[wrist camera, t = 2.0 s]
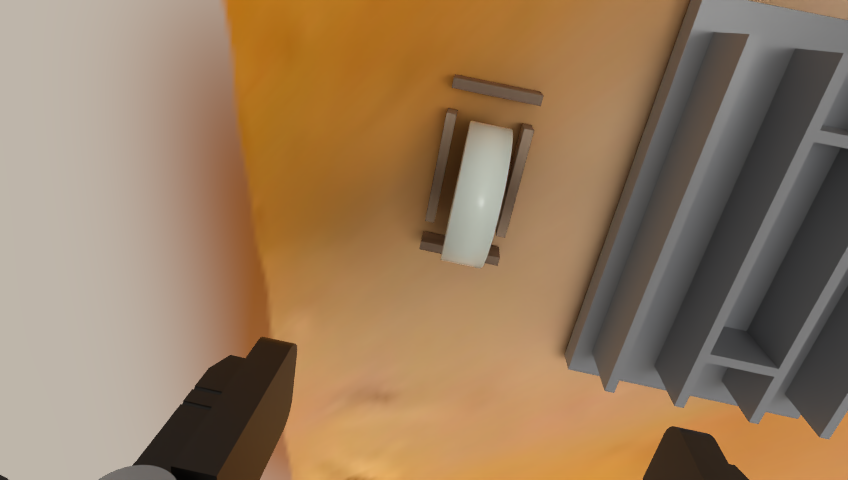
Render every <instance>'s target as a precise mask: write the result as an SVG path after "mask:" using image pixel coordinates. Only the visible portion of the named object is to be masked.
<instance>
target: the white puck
mask: <svg viewBox="0 0 848 480" xmlns="http://www.w3.org/2000/svg"><path fill="white" fill-rule="evenodd" d="M512 143H513V131H512V129H509V128H504V127H500V126H495V125H490V124H485V123H480V122H475V121H470V125H469V129H468V133H467V137H466V141H465V146H464V150H463V154H462V159H461V163H460V168H459V172H458V177H457V182H456V186H455V191H454V196H453V200H452V205H451V210H450V214H449V219H448V224H447V229H446V234H445V239H444V244H443V249H442V255H441V260H442V261H447V262H451V263H456V264H461V265H466V266H470V267H475V268H480V269H481V268H482V267H483V265H484V263H485V261H486V258H487V255H488V253H489V250H490V246H491V243H492V240H493V236H494V233H495V229H496V225H497V221H498V217H499V213H500V209H501V205H502V200H503V196H504V191H505V186H506V181H507V176H508V171H509V165H510V159H511V152H512Z"/></svg>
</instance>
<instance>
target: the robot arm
mask: <svg viewBox="0 0 848 480" xmlns="http://www.w3.org/2000/svg"><path fill="white" fill-rule="evenodd" d="M296 357H297V345H296V344H294V343H289V342H284V341H280V340H275V339H270V338H265V337H261V338H260V339H259V340H258V341H257V343H256V344H255V346H254V347H253V348H252V350H251V352H250V353H249V354H248V356H247V357H246V358H241V357H237V356H232V355H230V356H228V357H226V358H225V359H223V360H221V361H220V362H218V363H216V364H215V365H213V366H212V367H210V368H209V369H208V370H207V371H206V373H205V374H204V375H203V377H202V378H201V379H200V380H199V382H198V383H197V384H196V385H195V388H194V390H193V389H192V390H191V392H190V393H189V394H188V396H187V397H186V398H185V399H184V401H183V404H182V405H180V406H179V407H178V408H177V410H176V411H175V412H174V413H173V415H172V416H171V417H170V419H169V420H168V421H167V423H166V424H165V425H164V426H163V428H162V429H161V430H160V432H159V433H158V434H157V435H156V437H155V438H154V439H153V440H152V442H151V443H150V444H149V446H148V447H147V448H146V449H145V451H144V452H143V453H142V454H141V456H140V457H139V458H138V460H137V461H136V462H135V463H134V464H133V465H132V466H129V467H125V468H122V469H118V470H116V471H114V472H111V473H109V474H107V475H105V476H104V477H102V478H100V479H99V480H260V478H261V476H262V473H263V471H264V469H265V467H266V465H267V463H268V461H269V459H270V457H271V455H272V453H273V451H274V449H275V446H276V444H277V442H278V440H279V438H280V436H281V434H282V432H283V430H284V427H285V425H286V422H287V419H288V416H289V412H290V408H291V403H292V395H293V386H294V376H295V366H296ZM0 480H8V479H7V478H5V477H3V476H1V475H0ZM643 480H749V479H748V478H747V477H746V476H745V475H744V474H743V473H742V472H741V471H740V470H739V469H738V468H737V467H736V466H735V465H731V464H728V462H727V460H726V458H725V456H724V455H723V453H722V451H721V449H720V447H719V446H718V444H717V442H716V440H715V439H714V438H713V437H712V436H711V435H710V434H707V433H702V432H697V431H693V430H688V429H683V428H679V427H674V426H672V427H669V428H668V429H667V430H666V432H665V433H664V435H663V438H662V440H661V442H660V444H659V446H658V448H657V450H656V452H655V454H654V456H653V458H652V460H651V463H650V465H649V467H648V469H647V471H646V473H645V475H644V477H643Z"/></svg>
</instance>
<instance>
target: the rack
mask: <svg viewBox="0 0 848 480" xmlns="http://www.w3.org/2000/svg"><path fill="white" fill-rule="evenodd" d="M565 358H566V362H567V366H568V369H570V370H574V371H579V372H583V373H588V374H593V375H597V376H600V378H601V381H602V384H603V387H604V390H605V391H608V392H613V393H614V392H615V389H616V387H617V384H618V382H619V380H620V381H625V382H630V383H634V384H639V385H644V386H648V387H653V388H657V389H662V390H667V392H668V394H669V396H670V398H671V400H672V402H673V404H674V406H677V407H682V408H684V406H685V404H686V402H687V400H688V398H689V396H694V397H699V398H704V399H708V400H713V401H718V402H722V403H727V404H731V405H736V406H739V408H740V409H741V411H742V412H743V414H744V415H745V417H746V418H747V420H748V421H749V422H751V423H756V424H759V422H760V420H761V419H762V417H763V415H764V413H765V412H768V413H773V414H778V415H782V416H787V417H792V418H796V419H798V418H799V417H800V415H802V416H803V417H804V419H805V420H806V421H807V422H808V424H809V425H810V426H811V427H812V429H813V430H814V431H815V432H816V434H817V435H818V436H819V437H820V438H825V439H829V438H830V437H831V435H832V434H833V432H834V431H835V429H836V428H837V426H838V425H839V423H840V422H841V420H842V419H843V417H844V415H845V414H846V412H847V411H848V20H843V19H838V18H833V17H828V16H823V15H818V14H813V13H808V12H803V11H798V10H793V9H788V8H783V7H778V6H773V5H768V4H763V3H758V2H753V1H748V0H691V1H690V3H689V6H688V9H687V12H686V15H685V17H684V20H683V23H682V26H681V29H680V32H679V34H678V37H677V40H676V43H675V46H674V48H673V51H672V54H671V57H670V60H669V63H668V65H667V68H666V71H665V74H664V77H663V79H662V82H661V85H660V88H659V91H658V93H657V96H656V99H655V102H654V105H653V108H652V110H651V113H650V116H649V119H648V122H647V124H646V127H645V130H644V133H643V136H642V138H641V141H640V144H639V147H638V150H637V153H636V155H635V158H634V161H633V164H632V167H631V169H630V172H629V175H628V178H627V181H626V184H625V186H624V189H623V192H622V195H621V198H620V200H619V203H618V206H617V209H616V212H615V214H614V217H613V220H612V223H611V226H610V229H609V231H608V234H607V237H606V240H605V243H604V245H603V248H602V251H601V254H600V257H599V259H598V262H597V265H596V268H595V271H594V274H593V276H592V279H591V282H590V285H589V288H588V290H587V293H586V296H585V299H584V302H583V305H582V307H581V310H580V313H579V316H578V319H577V321H576V324H575V327H574V330H573V333H572V335H571V338H570V341H569V344H568V347H567V350H566V352H565Z"/></svg>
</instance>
